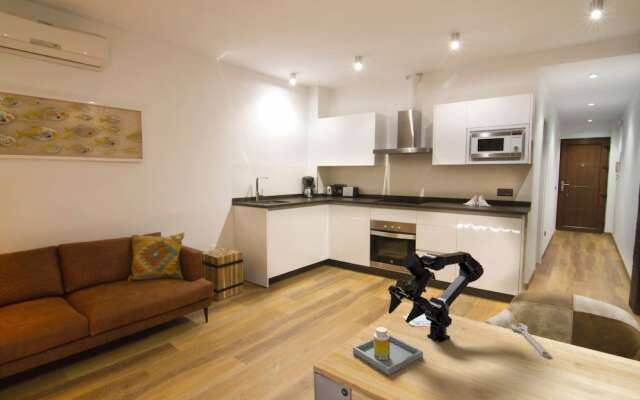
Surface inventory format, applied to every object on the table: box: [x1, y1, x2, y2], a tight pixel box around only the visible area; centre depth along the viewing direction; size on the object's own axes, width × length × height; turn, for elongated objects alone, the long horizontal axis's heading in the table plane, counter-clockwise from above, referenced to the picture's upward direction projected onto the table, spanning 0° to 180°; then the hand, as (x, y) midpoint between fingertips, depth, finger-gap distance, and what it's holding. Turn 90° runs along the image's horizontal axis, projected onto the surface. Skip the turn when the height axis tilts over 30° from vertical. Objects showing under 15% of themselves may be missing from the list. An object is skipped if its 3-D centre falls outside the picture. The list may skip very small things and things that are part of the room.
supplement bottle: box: [373, 326, 390, 360], centre depth 123 cm, size 6×6×10 cm
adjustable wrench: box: [510, 322, 551, 359], centre depth 133 cm, size 25×6×2 cm, turn 168°
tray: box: [352, 334, 424, 377], centre depth 125 cm, size 18×18×2 cm
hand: (397, 317), depth 126 cm, fingers open, 9 cm apart
